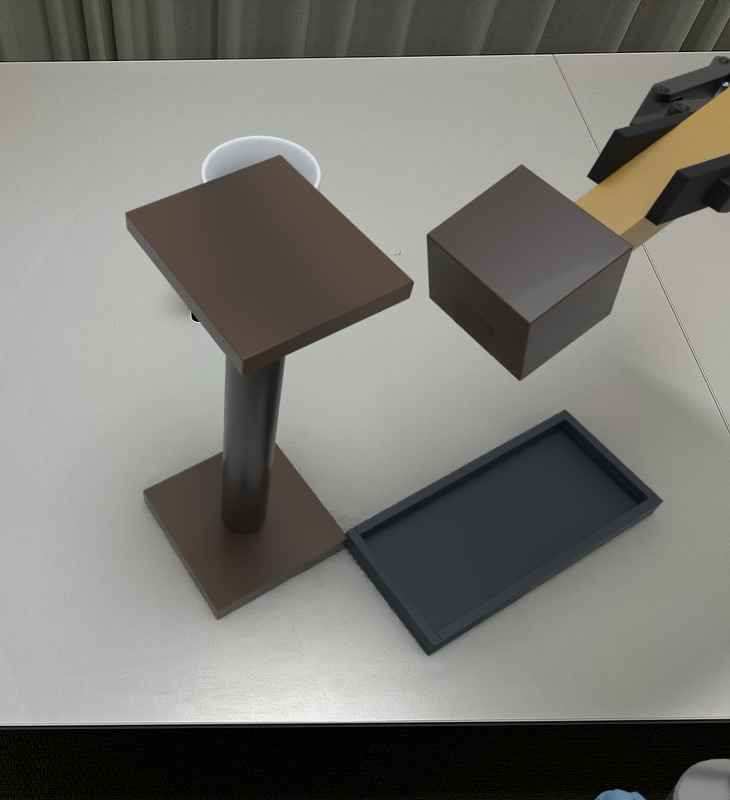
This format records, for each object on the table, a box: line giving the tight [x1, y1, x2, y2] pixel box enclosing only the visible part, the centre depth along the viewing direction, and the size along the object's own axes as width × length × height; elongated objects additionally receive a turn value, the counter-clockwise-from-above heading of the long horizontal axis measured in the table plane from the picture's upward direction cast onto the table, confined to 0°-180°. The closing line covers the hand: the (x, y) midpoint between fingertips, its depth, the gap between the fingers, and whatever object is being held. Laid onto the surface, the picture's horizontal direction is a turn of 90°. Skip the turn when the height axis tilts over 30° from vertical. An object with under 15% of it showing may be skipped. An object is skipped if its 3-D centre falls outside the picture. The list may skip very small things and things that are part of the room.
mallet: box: [425, 87, 730, 382], centre depth 40 cm, size 19×7×6 cm, turn 121°
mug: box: [200, 135, 322, 192], centre depth 76 cm, size 15×11×13 cm
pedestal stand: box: [124, 155, 415, 620], centre depth 53 cm, size 12×12×30 cm
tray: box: [344, 409, 664, 657], centre depth 63 cm, size 24×11×2 cm, turn 120°
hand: (636, 177), depth 39 cm, fingers closed on mallet, 3 cm apart
